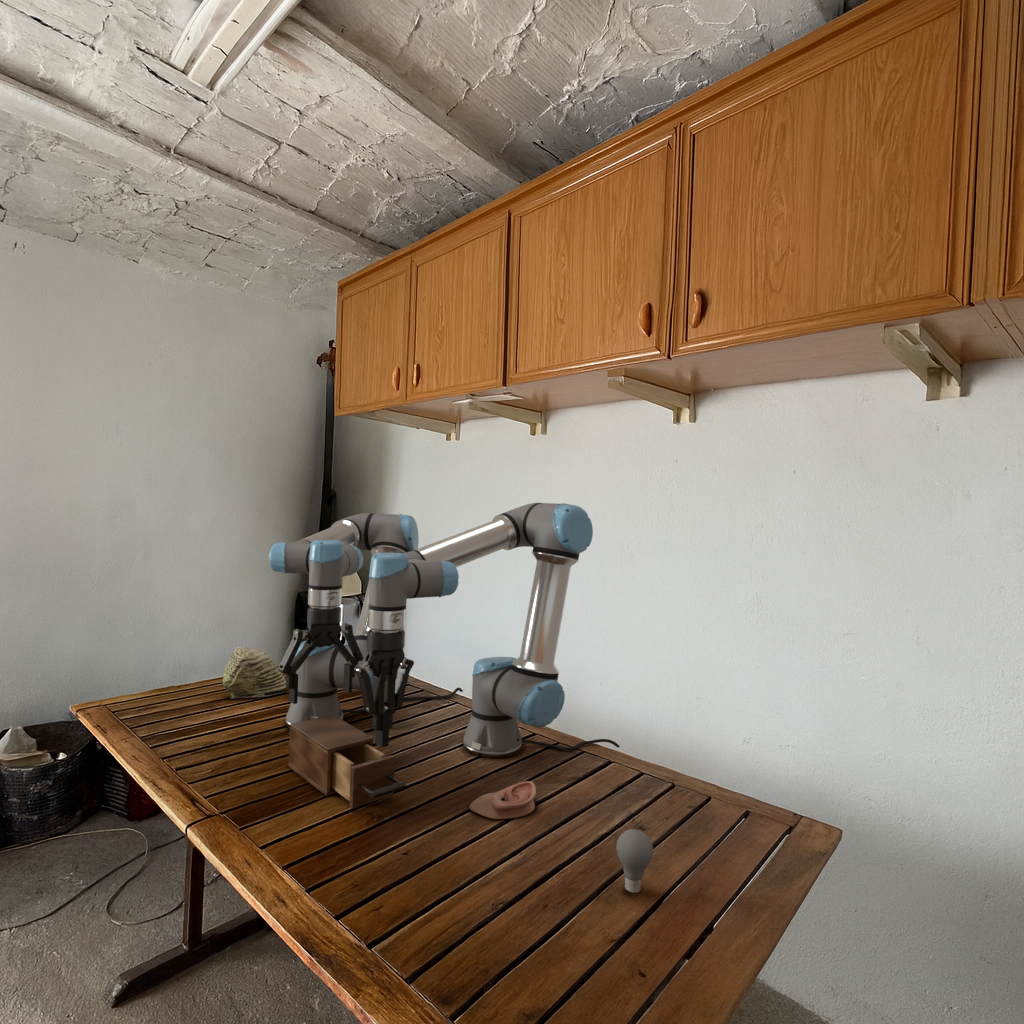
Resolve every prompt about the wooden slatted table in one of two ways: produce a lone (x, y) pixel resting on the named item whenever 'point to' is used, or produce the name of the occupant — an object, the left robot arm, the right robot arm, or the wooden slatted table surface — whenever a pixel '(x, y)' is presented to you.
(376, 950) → the wooden slatted table surface
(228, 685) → the fossil
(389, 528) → the left robot arm
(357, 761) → the drawer
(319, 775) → the cabinet
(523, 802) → the anatomical model
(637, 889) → the light bulb
